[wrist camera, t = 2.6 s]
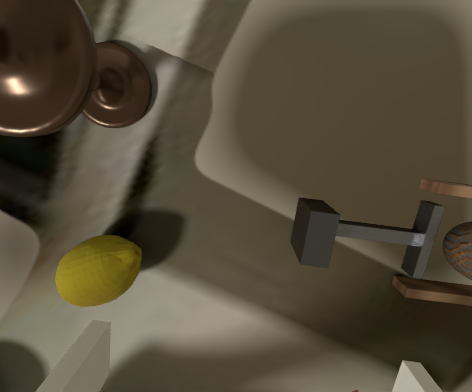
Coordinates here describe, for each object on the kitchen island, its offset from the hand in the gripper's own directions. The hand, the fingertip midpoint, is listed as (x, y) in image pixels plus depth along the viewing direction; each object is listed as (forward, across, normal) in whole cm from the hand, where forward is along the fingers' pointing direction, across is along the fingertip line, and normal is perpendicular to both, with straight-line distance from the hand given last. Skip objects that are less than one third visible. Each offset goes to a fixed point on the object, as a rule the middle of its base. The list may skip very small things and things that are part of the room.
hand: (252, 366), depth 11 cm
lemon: (+23, -16, -8) cm, 29 cm away
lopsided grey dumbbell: (+22, +18, 0) cm, 29 cm away
